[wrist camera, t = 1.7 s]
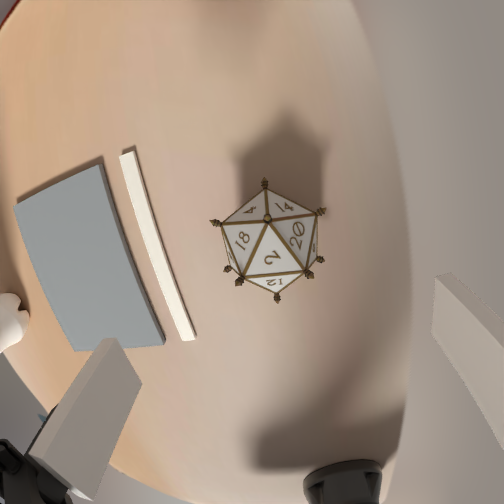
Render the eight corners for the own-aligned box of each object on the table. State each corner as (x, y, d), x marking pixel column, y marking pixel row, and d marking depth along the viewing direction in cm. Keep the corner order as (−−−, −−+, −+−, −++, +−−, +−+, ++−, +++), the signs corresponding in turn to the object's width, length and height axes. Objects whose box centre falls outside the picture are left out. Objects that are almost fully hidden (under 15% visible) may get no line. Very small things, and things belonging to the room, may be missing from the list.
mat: (165, 340, 32) (163, 344, 31) (77, 348, 33) (74, 351, 33) (102, 163, 25) (98, 164, 24) (17, 205, 27) (12, 206, 26)
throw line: (196, 336, 31) (195, 339, 31) (183, 338, 31) (182, 341, 31) (134, 150, 25) (132, 151, 24) (121, 156, 25) (118, 156, 24)
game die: (259, 201, 30) (247, 138, 20) (336, 241, 28) (359, 190, 18) (210, 277, 28) (171, 243, 18) (289, 325, 26) (291, 315, 16)
